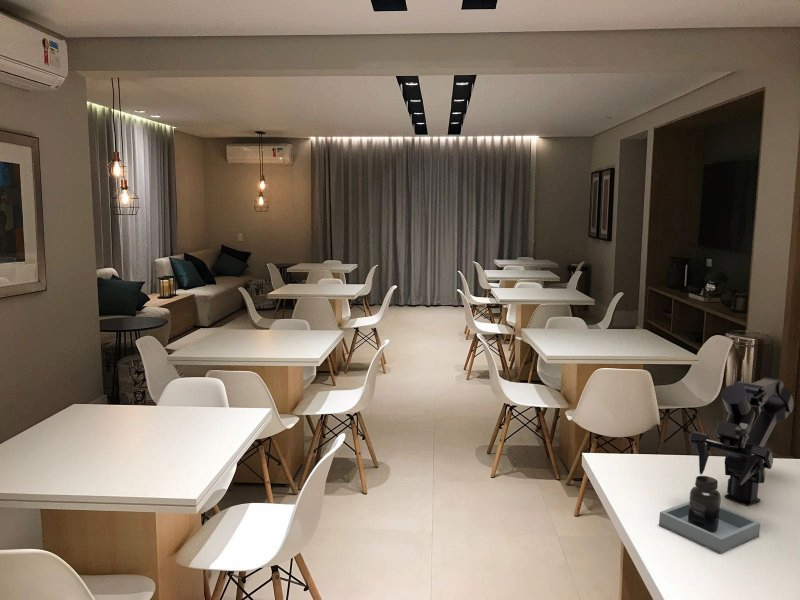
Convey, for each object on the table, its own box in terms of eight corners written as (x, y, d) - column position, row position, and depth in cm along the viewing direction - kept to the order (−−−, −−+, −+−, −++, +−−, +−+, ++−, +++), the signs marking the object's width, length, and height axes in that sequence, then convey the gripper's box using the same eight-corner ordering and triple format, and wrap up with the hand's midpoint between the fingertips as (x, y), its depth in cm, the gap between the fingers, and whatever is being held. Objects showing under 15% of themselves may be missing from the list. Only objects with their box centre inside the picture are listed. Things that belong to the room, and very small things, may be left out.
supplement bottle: (724, 532, 161) (728, 484, 159) (697, 533, 160) (702, 485, 158) (707, 519, 168) (711, 473, 166) (681, 520, 167) (685, 474, 165)
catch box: (759, 536, 161) (760, 522, 160) (720, 554, 152) (721, 539, 151) (697, 510, 174) (698, 497, 173) (658, 525, 165) (659, 511, 165)
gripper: (694, 400, 173) (674, 452, 166) (774, 417, 160) (756, 474, 154) (702, 423, 180) (683, 474, 173) (780, 440, 167) (763, 496, 161)
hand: (719, 479), depth 165 cm, fingers open, 9 cm apart
